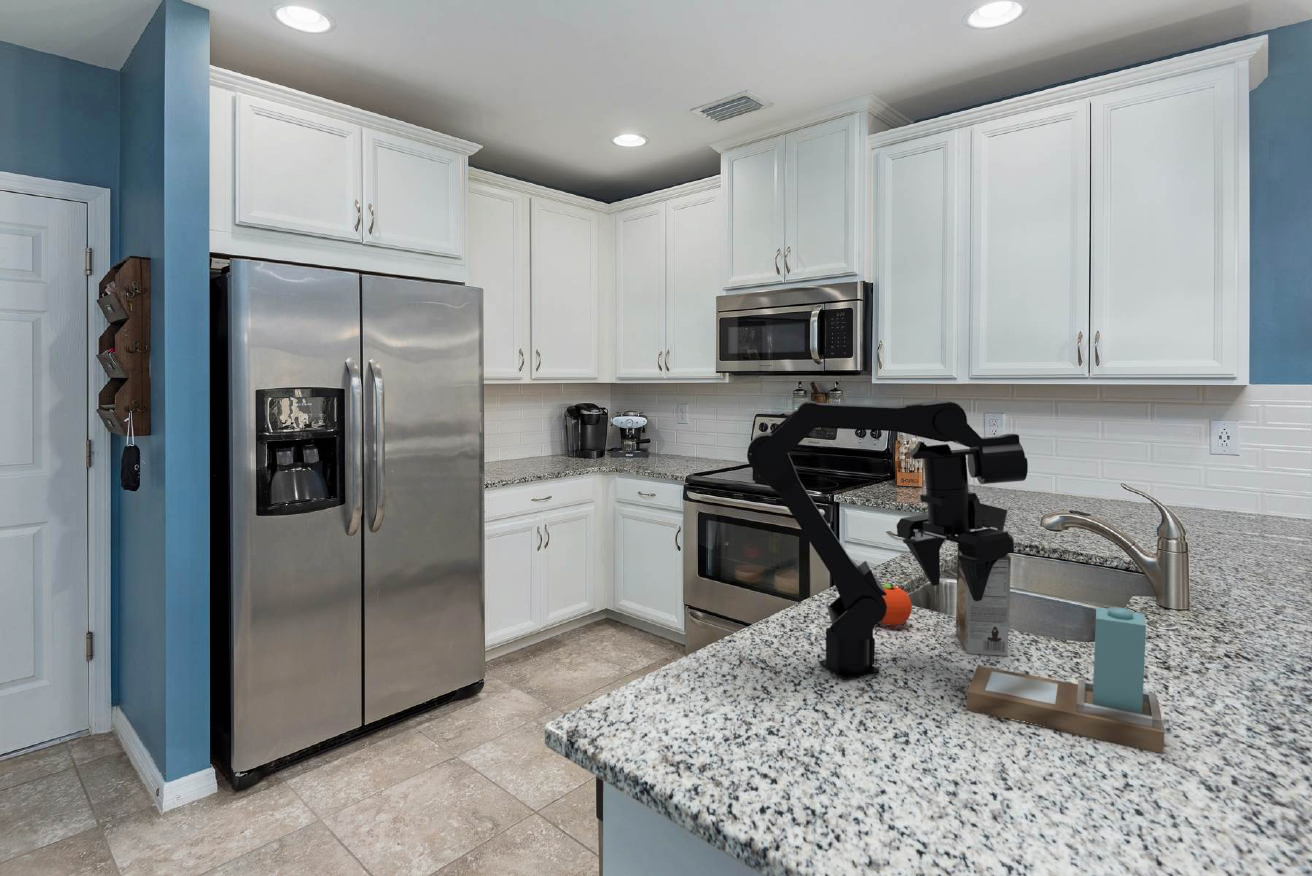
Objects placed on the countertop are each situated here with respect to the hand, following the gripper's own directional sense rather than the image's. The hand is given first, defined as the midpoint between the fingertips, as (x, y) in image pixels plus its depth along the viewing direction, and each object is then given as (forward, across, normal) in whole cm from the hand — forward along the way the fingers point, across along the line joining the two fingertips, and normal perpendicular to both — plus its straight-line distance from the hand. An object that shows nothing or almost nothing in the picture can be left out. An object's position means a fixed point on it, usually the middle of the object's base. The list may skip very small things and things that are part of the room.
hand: (955, 592), depth 102 cm
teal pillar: (+11, -18, -8) cm, 23 cm away
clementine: (+12, +23, -2) cm, 26 cm away
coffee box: (+13, +10, -11) cm, 20 cm away
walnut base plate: (+13, -14, -4) cm, 19 cm away
